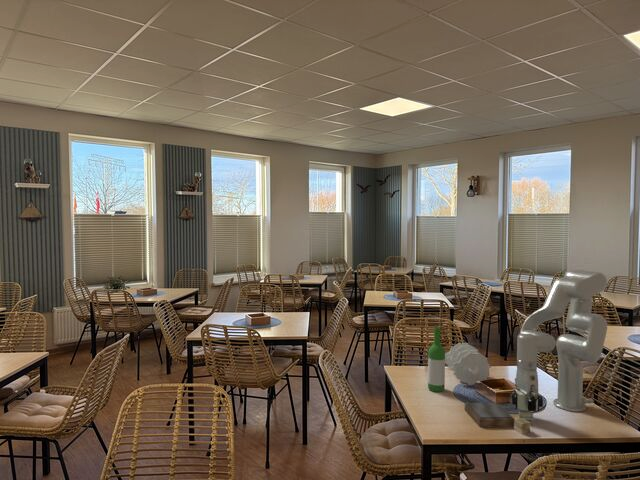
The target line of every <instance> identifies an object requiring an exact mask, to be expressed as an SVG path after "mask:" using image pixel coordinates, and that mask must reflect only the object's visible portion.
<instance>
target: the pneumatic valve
mask: <svg viewBox="0 0 640 480" xmlns="http://www.w3.org/2000/svg"><path fill="white" fill-rule="evenodd" d="M529 393H532V392H529ZM530 396H531V397H532V396H533V395H530ZM528 401H529V399H528V395H526V394H525V393H523V392H522V391H520V390H516V389H514V390H513V392H512V393H510V394H509V403H510V405H511V406H513V407H514V409H515V410H519V411H518V412H517V413H518V415H517V416H518V417H519V419H522V418H523V419H525V420H526V421H528V422H530V421H532V420H533V419H534V413H533V411H528ZM543 406H544V399H543V396H542V395H539V396H538V399H537V402H536V411H535V412H540V409H541V408H542V407H543Z"/></svg>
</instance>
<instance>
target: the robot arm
mask: <svg viewBox="0 0 640 480" xmlns="http://www.w3.org/2000/svg"><path fill="white" fill-rule="evenodd" d="M607 284H608V281H607V277H606V275H605V274H603V273H602V272H599V271H589V270H588V271H587V270H583V269H582V270H580V269H579V270H578V269H570V270H567V271H565V273H564V275H563V277H558V278H556V279H554V281H553V283H552V284H551V286H550V288H549V291H548V293H547V295H546V298H545V301H544V303H543V304H542V306H541V307H540V308H538V309H537V310H535V311H533V313H531V314H530V315H529V316H527V318H526V319H525V320H524V322H523V324H522V326H521V328H520V331H519V334H518V335H517V338H516V340H517V341H516V342H517V343H516V344H517V345H516V373H515V374H516V375H515V378H514V383H515V384H514V386H515V390H520V391H522V392H523V393H525V394H526V395H528V399H529V401H528V411H530V412H537V411H536V402H537V399H538V396H540V393H539V376H538V371H537V368H538V353H548V352H552V351H553V350H554V349H555V347H556V352H557V360H558V364H557V365H558V367H557V369H558V370H557V373H558V374H557V398H555V399H553V401H552V403H553V405H554V406H555V407H557V408H558V409H561V410H565V411H568V412H577V413H579V412H584V411H586V410H587V405H586V404H593V403H594V398H591V397H589V398H587V396H583V390H584V389H583V387H584V386H583V384H584V383H583V382H584V380H583V379H584V366H583V363H582V361H585V362H588V363H596V362H598V361H599V359H600V358H601V356H602V353H603V349H604V346H605V341H606V337H607V331H608V324H607V323H608V322H607V320H606V318H605V317H604V315H600V314H597V313H593V312H592V308H593V302H594V301H593V298H592V297H594V296H596V295H598V294H600V293H601V292H602V291H604V290H605V289H606V287H607ZM568 305H569V306H568ZM567 308H568V311H567V314H566V319H565V327H566V329H567V330H568V331H571V332H573V333H577V334H582V335H586V336H587V337H583V336H580V335H577V334H576V335H575V334H570V333H563V334H561V335H559V336H558V337H557V339H555V337H554V336H553V335H551V334H549V333H546V332H543V331H538V330H537V327H539V325H541V324H543V323H544V322H547V321H551V320H554V319H560V318H562V317H563V316H564V314H565V313H566V309H567ZM529 392H532V393H529ZM530 395H533V396H532V397H531V396H530Z"/></svg>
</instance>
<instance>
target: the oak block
mask: <svg viewBox="0 0 640 480" xmlns="http://www.w3.org/2000/svg"><path fill="white" fill-rule="evenodd" d="M514 419H515V418H514ZM513 430H514V431H515V432H517V433H518V434H520V435H525V434H530V433H531V422H530V421H527V420H525V419H523V418H522V419H521V418H517V419H515V420H514V426H513Z"/></svg>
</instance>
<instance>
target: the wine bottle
mask: <svg viewBox="0 0 640 480" xmlns="http://www.w3.org/2000/svg"><path fill="white" fill-rule="evenodd" d="M445 353H446V350H445V348H444V347H443V345H442V344H441V327H439V326H436V327H434V328H433V344H431V346H429V348H428V356H427V357H428V360H427V362H428V363H427V365H428V366H427V388H428V390H430V391H432V392H434V393H441V392H443V391H445V382H446V381H445V379H446V378H445V377H446V374H445V373H446V363H445V361H446V360H445Z"/></svg>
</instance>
